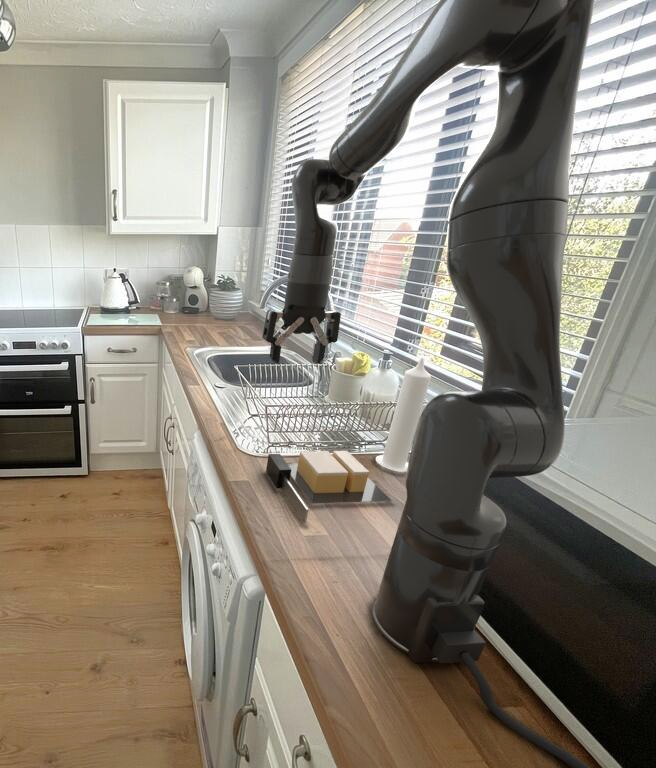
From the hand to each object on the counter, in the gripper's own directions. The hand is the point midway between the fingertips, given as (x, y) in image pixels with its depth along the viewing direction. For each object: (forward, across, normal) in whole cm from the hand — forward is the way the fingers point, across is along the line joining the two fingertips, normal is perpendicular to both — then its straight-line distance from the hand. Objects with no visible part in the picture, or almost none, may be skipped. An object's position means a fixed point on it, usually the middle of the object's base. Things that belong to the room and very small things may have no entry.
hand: (295, 362), depth 83 cm
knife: (+24, -3, -12) cm, 27 cm away
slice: (+23, +11, -8) cm, 26 cm away
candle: (+24, +25, -2) cm, 34 cm away
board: (+24, +8, -8) cm, 26 cm away
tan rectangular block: (+23, +5, -8) cm, 25 cm away
